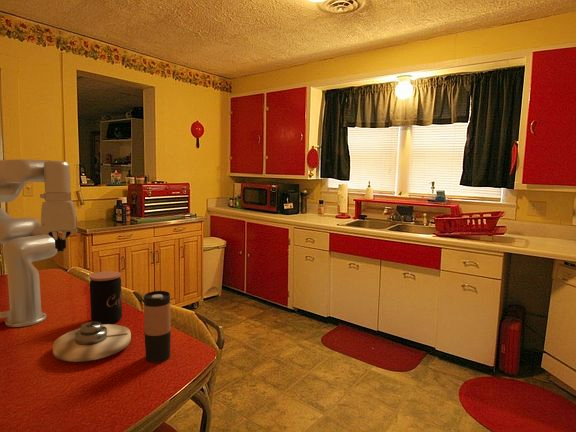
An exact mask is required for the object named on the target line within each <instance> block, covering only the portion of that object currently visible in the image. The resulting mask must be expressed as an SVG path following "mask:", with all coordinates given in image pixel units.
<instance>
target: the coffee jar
mask: <svg viewBox="0 0 576 432" xmlns="http://www.w3.org/2000/svg"><path fill="white" fill-rule="evenodd" d="M121 276H122V274H121V272H120V271H116V270H103V271H98V272H94V273H92V274H90V275H89V280H90V281H89V299H90V301H89V304H90V306H89V307H90V320H91V321H90V322H100V323H101V324H102V325H104V324H112V325H115V324H117V323H119V322H120V321H121V319H122V317H123V303H122V302H123V301H122V300H123V298H122V296H123V295H122V279H121V278H120V277H121Z"/></svg>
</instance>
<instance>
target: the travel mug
mask: <svg viewBox="0 0 576 432" xmlns="http://www.w3.org/2000/svg"><path fill="white" fill-rule="evenodd" d="M171 317H172V316H171V293H170V292H169V291H165V290H155V291H150V292H146V293H145V294H144V295H143V321H144V322H143V325H144V326H143V329H144V330H143V331H144V333H143V334H144V350H145V361H146V362H147V363H151V364H159V363H163V362H166V361H167V360H169V359H170V357H171V346H172V345H171V339H172V338H171V337H172V336H171V335H172V330H171V329H172V328H171V327H172V325H171V324H172V322H171V321H172V320H171Z"/></svg>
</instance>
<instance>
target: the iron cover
mask: <svg viewBox="0 0 576 432" xmlns="http://www.w3.org/2000/svg"><path fill="white" fill-rule="evenodd" d="M79 328H80V330H78V331H77V332H76V333H75V343H76V344H78V345H93V344H97V343H100V342H102V341H104V340H105V339H106V338H107V328H106V327H104V326H102V324H101V323H100V322H92V321H88V322H85V323H82V324H81V325H80V327H79Z"/></svg>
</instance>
